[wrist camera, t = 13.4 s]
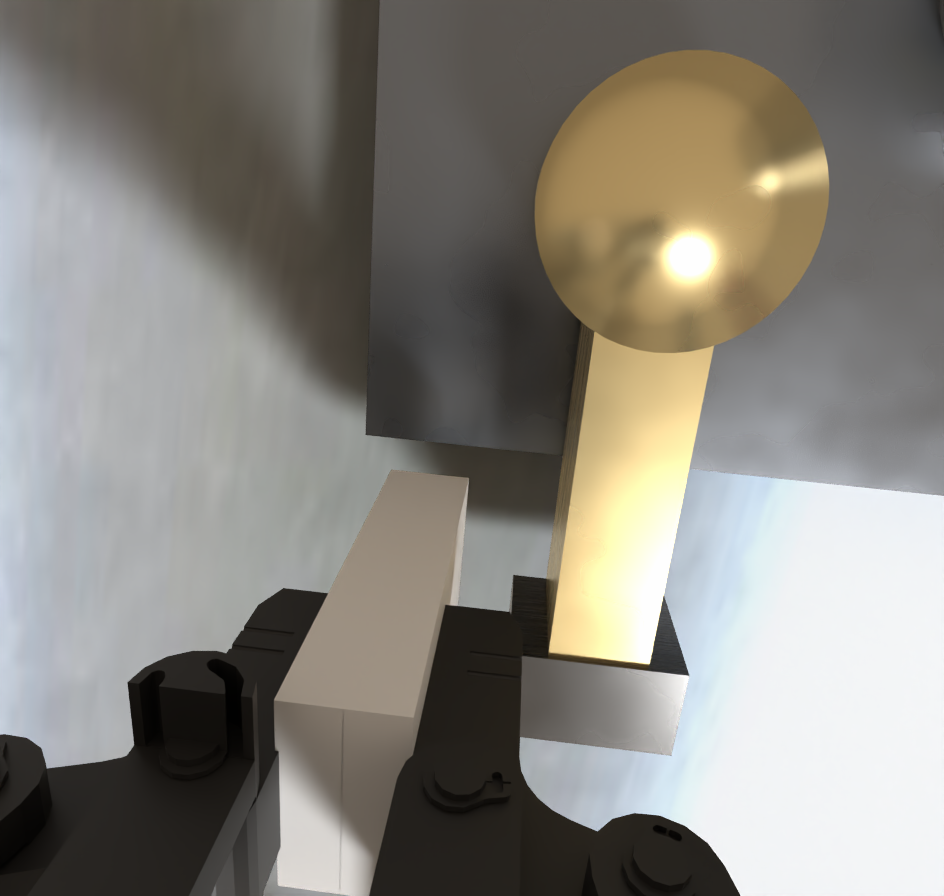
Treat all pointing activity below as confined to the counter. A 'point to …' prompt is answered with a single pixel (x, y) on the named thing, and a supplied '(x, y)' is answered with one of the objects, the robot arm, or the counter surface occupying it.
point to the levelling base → (551, 322)
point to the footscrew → (651, 360)
